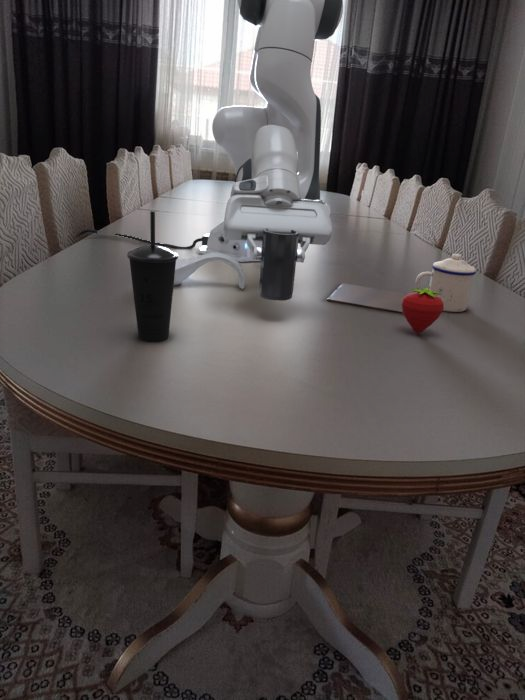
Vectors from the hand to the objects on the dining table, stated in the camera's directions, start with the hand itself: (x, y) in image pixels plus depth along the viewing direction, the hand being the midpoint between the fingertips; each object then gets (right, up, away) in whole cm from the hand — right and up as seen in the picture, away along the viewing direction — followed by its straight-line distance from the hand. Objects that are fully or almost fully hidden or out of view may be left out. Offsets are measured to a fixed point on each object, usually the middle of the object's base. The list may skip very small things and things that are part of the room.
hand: (278, 259), depth 94 cm
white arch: (-19, -2, +23) cm, 30 cm away
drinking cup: (-21, -14, -9) cm, 27 cm away
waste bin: (-1, -6, +3) cm, 7 cm away
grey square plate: (+21, -5, +23) cm, 32 cm away
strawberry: (+26, -13, +3) cm, 29 cm away
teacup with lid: (+36, -7, +22) cm, 43 cm away
